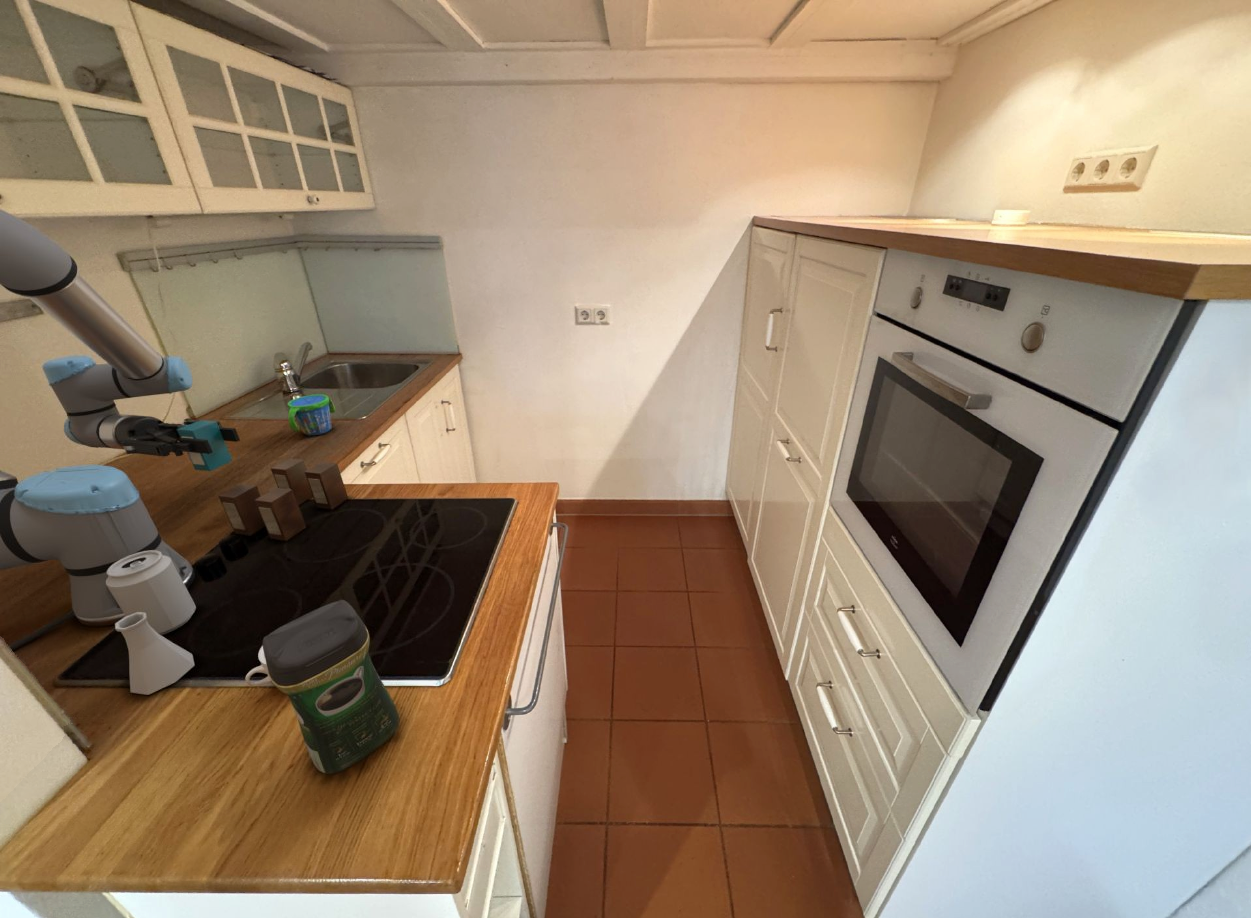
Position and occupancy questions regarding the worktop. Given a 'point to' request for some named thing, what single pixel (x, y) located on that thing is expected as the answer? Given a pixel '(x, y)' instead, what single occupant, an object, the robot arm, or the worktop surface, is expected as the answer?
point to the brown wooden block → (280, 513)
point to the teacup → (261, 669)
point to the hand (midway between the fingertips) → (222, 440)
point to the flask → (151, 656)
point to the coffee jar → (332, 685)
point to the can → (151, 590)
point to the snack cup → (311, 414)
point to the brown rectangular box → (293, 478)
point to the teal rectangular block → (215, 439)
